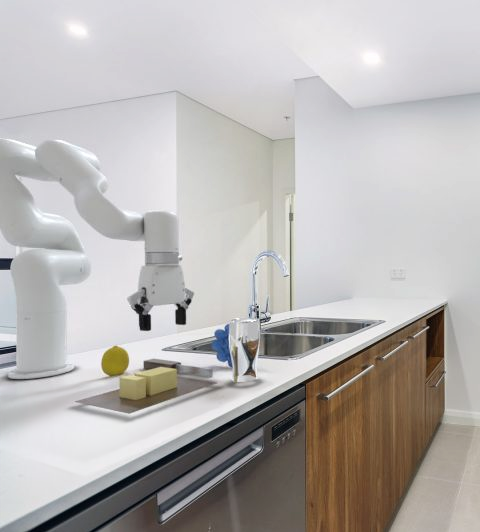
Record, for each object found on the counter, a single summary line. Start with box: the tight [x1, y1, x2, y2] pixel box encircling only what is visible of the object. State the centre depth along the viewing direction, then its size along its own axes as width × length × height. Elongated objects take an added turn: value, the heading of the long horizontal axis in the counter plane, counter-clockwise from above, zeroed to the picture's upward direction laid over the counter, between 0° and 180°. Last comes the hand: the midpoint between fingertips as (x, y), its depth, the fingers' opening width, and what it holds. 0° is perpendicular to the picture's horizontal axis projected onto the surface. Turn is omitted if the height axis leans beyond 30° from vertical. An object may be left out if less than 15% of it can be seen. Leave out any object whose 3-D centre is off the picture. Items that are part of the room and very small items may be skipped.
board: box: [74, 376, 217, 415], centre depth 84 cm, size 16×20×1 cm
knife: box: [143, 358, 214, 378], centre depth 99 cm, size 22×3×3 cm, turn 68°
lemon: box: [100, 345, 130, 377], centre depth 97 cm, size 6×6×8 cm
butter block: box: [133, 367, 178, 396], centre depth 84 cm, size 5×6×4 cm
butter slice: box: [119, 374, 146, 400], centre depth 80 cm, size 5×2×4 cm, turn 68°
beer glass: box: [229, 317, 262, 383], centre depth 93 cm, size 7×7×15 cm
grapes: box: [210, 323, 233, 369], centre depth 106 cm, size 12×7×12 cm, turn 108°
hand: (163, 327), depth 101 cm, fingers open, 9 cm apart
